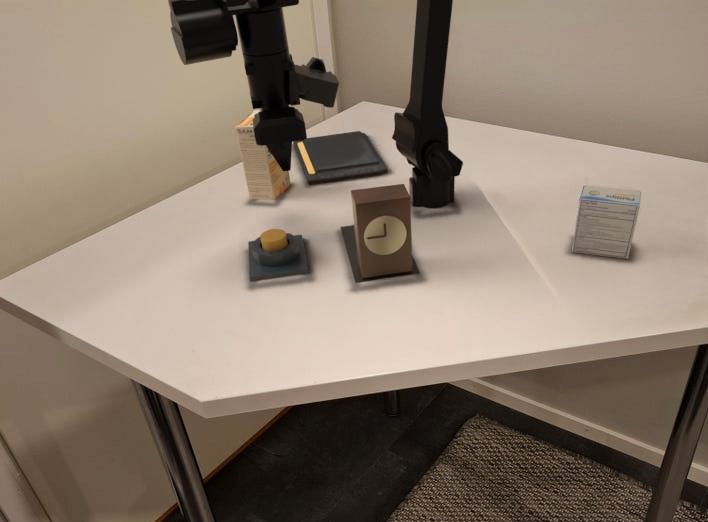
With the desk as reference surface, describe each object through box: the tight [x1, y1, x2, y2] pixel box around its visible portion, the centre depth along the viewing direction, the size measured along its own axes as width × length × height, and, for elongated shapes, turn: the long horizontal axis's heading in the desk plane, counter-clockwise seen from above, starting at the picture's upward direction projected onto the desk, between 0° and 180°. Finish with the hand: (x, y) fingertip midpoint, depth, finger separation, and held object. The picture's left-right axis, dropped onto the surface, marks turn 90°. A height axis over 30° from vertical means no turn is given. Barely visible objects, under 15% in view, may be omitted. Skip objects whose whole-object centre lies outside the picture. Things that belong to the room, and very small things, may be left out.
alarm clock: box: [350, 183, 413, 278], centre depth 83 cm, size 7×11×4 cm
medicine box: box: [571, 184, 642, 260], centre depth 88 cm, size 8×4×9 cm, turn 71°
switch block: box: [247, 232, 309, 282], centre depth 90 cm, size 10×8×4 cm
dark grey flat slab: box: [340, 224, 421, 284], centre depth 92 cm, size 9×16×1 cm, turn 11°
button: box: [259, 228, 288, 251], centre depth 89 cm, size 4×4×2 cm
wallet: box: [292, 130, 389, 186], centre depth 119 cm, size 20×2×15 cm
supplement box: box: [235, 109, 292, 201], centre depth 105 cm, size 8×5×13 cm, turn 168°
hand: (286, 170), depth 88 cm, fingers closed
